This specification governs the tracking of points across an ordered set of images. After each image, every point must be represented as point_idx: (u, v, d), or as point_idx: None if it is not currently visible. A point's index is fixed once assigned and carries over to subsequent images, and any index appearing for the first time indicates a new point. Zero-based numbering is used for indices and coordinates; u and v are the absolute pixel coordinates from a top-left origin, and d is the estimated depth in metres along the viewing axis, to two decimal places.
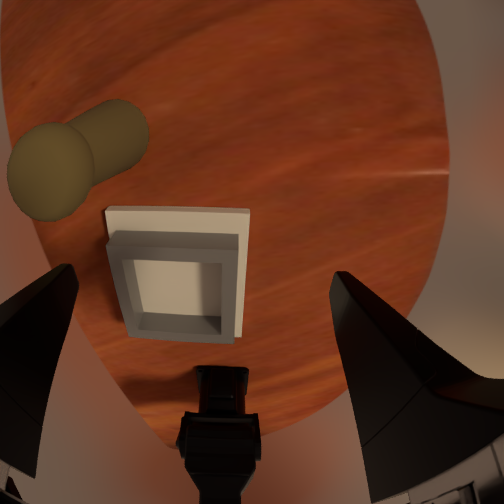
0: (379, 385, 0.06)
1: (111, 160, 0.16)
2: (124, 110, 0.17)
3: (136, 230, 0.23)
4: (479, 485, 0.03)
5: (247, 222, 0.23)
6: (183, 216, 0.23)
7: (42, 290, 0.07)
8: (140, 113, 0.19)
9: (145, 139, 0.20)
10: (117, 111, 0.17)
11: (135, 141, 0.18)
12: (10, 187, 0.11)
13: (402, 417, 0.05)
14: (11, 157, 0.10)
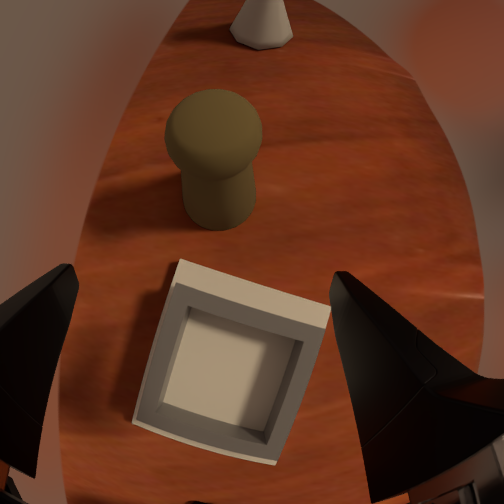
0: (379, 385, 0.06)
1: (246, 180, 0.18)
2: None
3: (206, 293, 0.21)
4: (479, 485, 0.03)
5: (327, 315, 0.22)
6: (265, 292, 0.22)
7: (42, 290, 0.07)
8: None
9: (252, 206, 0.23)
10: None
11: (252, 195, 0.22)
12: (178, 111, 0.13)
13: (402, 417, 0.05)
14: (197, 93, 0.14)
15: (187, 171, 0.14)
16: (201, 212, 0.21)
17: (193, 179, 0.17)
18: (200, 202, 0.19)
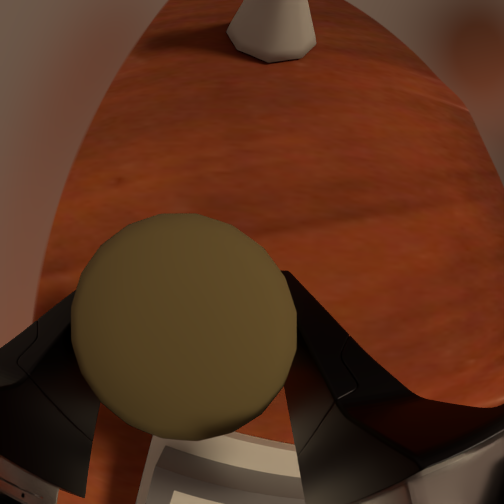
0: (304, 394, 0.06)
1: None
2: None
3: (198, 456, 0.13)
4: None
5: None
6: (277, 454, 0.13)
7: None
8: None
9: None
10: None
11: None
12: (84, 305, 0.05)
13: (321, 432, 0.05)
14: (126, 238, 0.05)
15: None
16: None
17: None
18: None
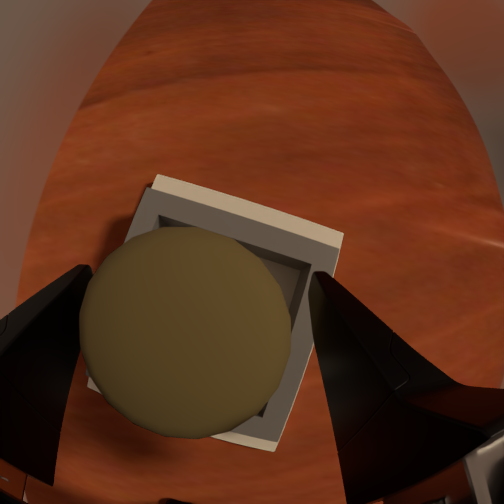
0: (352, 389, 0.06)
1: None
2: None
3: None
4: None
5: (338, 244, 0.17)
6: (260, 211, 0.17)
7: (61, 292, 0.07)
8: None
9: None
10: None
11: None
12: (92, 313, 0.05)
13: (373, 423, 0.05)
14: (131, 251, 0.06)
15: None
16: None
17: None
18: None
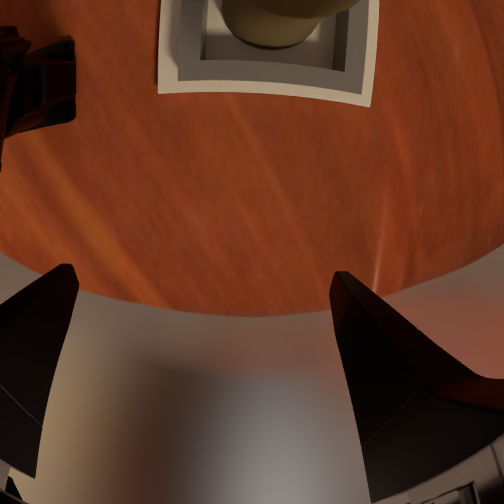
0: (379, 385, 0.06)
1: (267, 22, 0.10)
2: (310, 32, 0.13)
3: None
4: (479, 485, 0.03)
5: (360, 103, 0.17)
6: (371, 36, 0.14)
7: (42, 290, 0.07)
8: (296, 44, 0.15)
9: (264, 47, 0.14)
10: (313, 27, 0.12)
11: (270, 41, 0.13)
12: None
13: (402, 417, 0.05)
14: None
15: None
16: None
17: None
18: None
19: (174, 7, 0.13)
